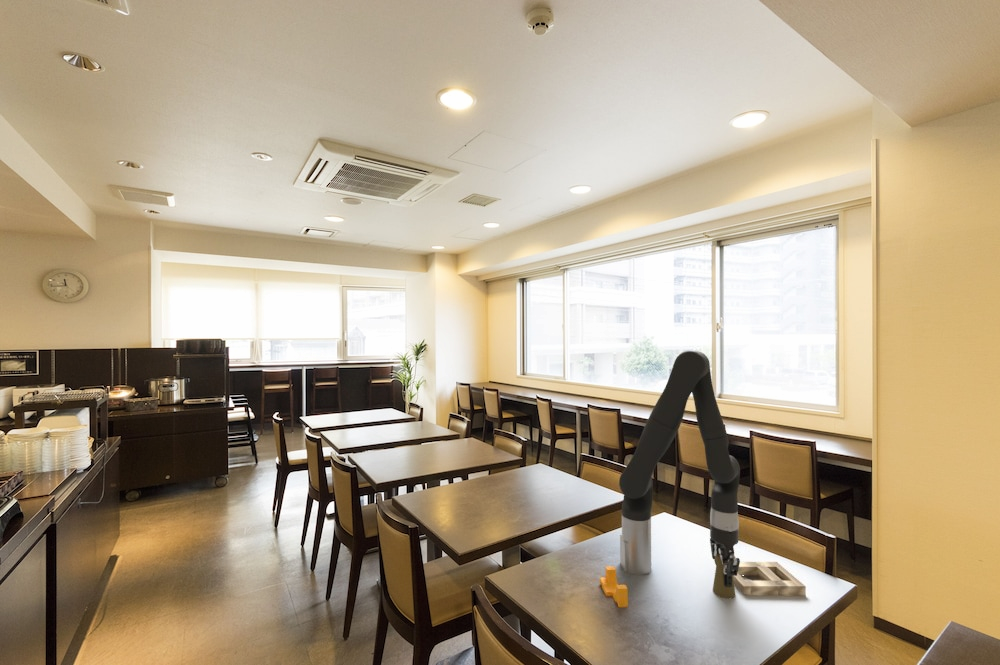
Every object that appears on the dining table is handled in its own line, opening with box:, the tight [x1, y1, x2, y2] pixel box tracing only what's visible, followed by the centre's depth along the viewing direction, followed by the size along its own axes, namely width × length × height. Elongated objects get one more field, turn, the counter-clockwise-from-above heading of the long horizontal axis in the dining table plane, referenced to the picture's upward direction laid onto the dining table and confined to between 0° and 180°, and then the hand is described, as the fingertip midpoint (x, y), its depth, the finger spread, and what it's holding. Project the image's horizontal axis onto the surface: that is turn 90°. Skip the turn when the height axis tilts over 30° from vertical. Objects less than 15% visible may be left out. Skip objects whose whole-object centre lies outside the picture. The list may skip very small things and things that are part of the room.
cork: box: [712, 554, 736, 600], centre depth 133 cm, size 6×6×11 cm
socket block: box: [733, 561, 807, 597], centre depth 139 cm, size 18×14×3 cm
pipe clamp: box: [599, 565, 629, 608], centre depth 131 cm, size 12×4×6 cm, turn 4°
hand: (724, 581), depth 133 cm, fingers closed on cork, 4 cm apart
